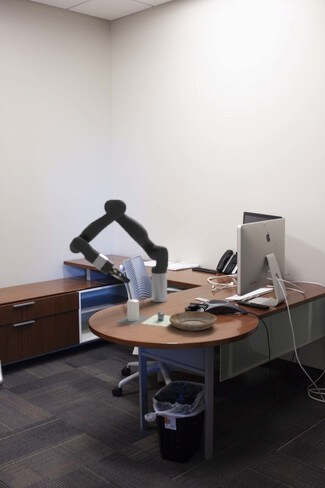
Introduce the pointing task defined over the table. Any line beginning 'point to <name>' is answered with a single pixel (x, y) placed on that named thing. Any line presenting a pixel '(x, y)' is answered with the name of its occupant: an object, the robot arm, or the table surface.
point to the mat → (126, 321)
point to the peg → (160, 316)
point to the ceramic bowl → (193, 320)
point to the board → (154, 321)
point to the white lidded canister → (133, 310)
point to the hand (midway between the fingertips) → (128, 282)
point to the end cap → (197, 307)
